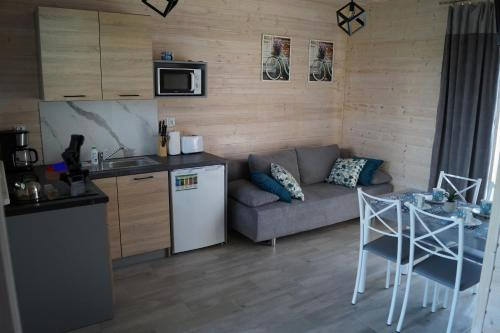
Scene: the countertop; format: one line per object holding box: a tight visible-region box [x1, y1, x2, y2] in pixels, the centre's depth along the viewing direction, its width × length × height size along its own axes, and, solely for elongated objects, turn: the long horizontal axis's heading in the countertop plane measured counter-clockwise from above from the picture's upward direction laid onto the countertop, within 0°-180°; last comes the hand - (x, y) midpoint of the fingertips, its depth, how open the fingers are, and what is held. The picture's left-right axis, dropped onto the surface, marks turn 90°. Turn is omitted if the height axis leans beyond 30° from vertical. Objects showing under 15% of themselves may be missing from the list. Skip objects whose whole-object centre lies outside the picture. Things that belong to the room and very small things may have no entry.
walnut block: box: [47, 188, 60, 201], centre depth 262 cm, size 5×5×5 cm
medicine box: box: [70, 180, 86, 197], centre depth 270 cm, size 8×4×9 cm, turn 156°
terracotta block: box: [43, 183, 53, 195], centre depth 272 cm, size 4×4×6 cm
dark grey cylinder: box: [44, 186, 55, 198], centre depth 267 cm, size 5×5×6 cm
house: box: [44, 160, 69, 181], centre depth 321 cm, size 12×20×12 cm, turn 170°
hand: (78, 185), depth 269 cm, fingers open, 9 cm apart
